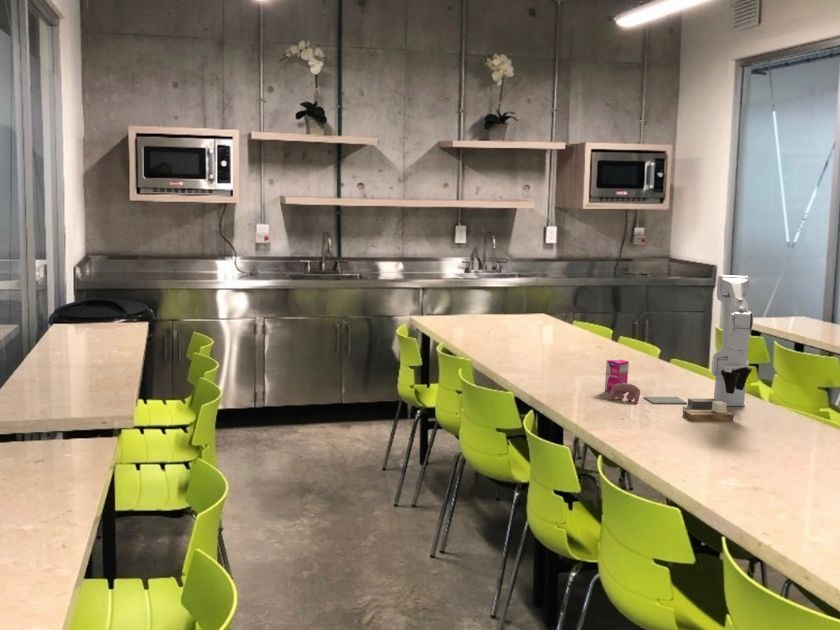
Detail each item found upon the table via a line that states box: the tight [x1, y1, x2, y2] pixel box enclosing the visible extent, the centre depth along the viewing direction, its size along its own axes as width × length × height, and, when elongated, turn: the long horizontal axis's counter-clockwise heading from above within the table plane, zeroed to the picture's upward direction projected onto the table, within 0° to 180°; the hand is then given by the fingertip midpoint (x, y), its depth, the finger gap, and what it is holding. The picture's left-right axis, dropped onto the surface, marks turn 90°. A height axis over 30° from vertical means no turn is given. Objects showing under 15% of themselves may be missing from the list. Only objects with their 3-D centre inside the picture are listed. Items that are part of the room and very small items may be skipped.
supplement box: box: [604, 358, 630, 394], centre depth 300 cm, size 6×6×12 cm
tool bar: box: [682, 397, 717, 411], centre depth 278 cm, size 11×4×4 cm, turn 97°
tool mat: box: [643, 396, 688, 405], centre depth 289 cm, size 12×8×1 cm, turn 97°
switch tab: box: [712, 401, 728, 413], centre depth 268 cm, size 3×4×3 cm
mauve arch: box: [609, 382, 641, 404], centre depth 288 cm, size 10×5×7 cm, turn 65°
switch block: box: [682, 409, 734, 422], centre depth 268 cm, size 14×6×2 cm, turn 97°
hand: (734, 391), depth 269 cm, fingers open, 7 cm apart
